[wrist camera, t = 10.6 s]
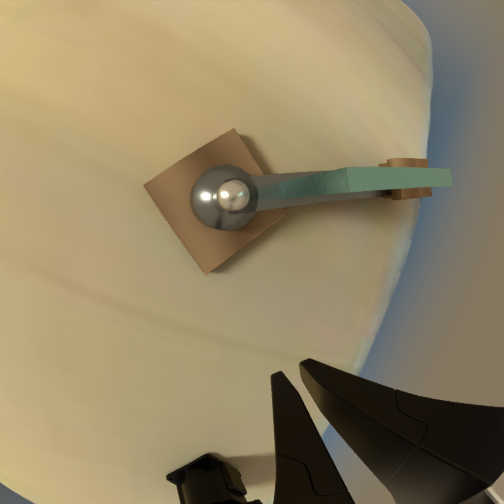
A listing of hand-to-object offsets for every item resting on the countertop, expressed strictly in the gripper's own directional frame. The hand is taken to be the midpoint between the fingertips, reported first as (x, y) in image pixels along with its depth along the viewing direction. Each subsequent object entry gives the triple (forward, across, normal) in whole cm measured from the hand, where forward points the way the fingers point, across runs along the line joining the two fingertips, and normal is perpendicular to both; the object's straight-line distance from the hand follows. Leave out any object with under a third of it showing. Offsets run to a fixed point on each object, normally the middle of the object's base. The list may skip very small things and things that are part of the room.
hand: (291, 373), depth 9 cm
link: (+14, +9, +1) cm, 17 cm away
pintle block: (+15, +1, +2) cm, 16 cm away
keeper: (+16, +18, -1) cm, 24 cm away
